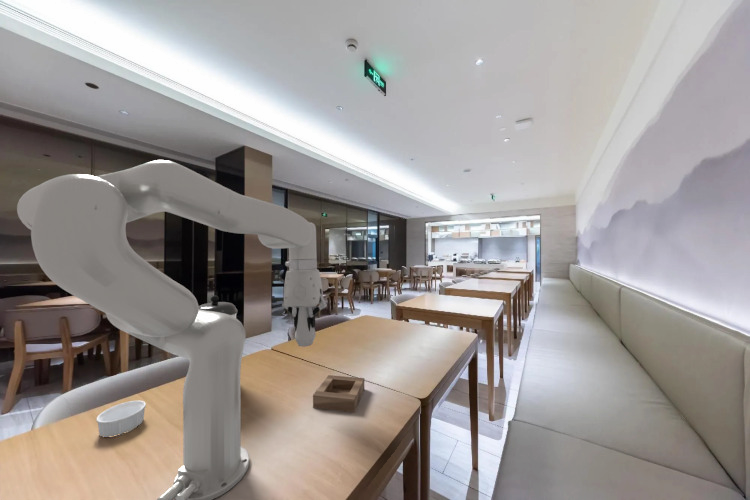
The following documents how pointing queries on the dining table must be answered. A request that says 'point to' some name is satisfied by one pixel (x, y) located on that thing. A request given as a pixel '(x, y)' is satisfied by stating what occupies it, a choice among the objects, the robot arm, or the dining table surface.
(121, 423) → the ramekin
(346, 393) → the socket block
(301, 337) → the salt shaker
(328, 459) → the dining table surface
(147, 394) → the dining table surface
